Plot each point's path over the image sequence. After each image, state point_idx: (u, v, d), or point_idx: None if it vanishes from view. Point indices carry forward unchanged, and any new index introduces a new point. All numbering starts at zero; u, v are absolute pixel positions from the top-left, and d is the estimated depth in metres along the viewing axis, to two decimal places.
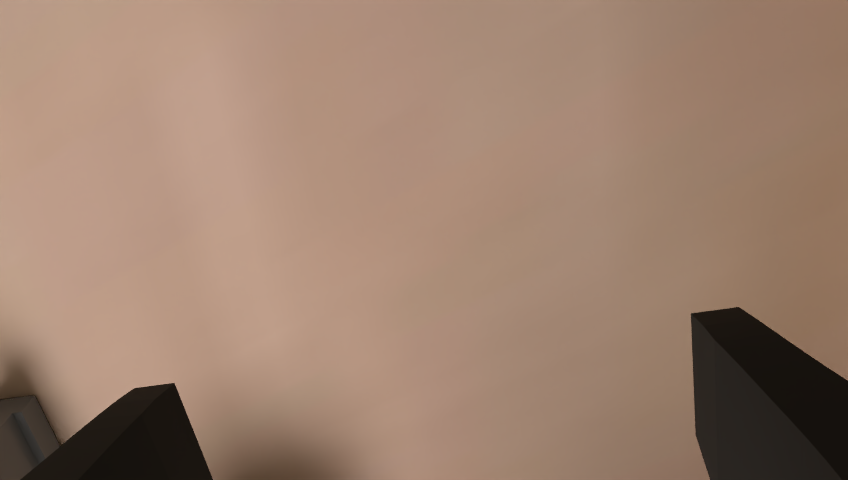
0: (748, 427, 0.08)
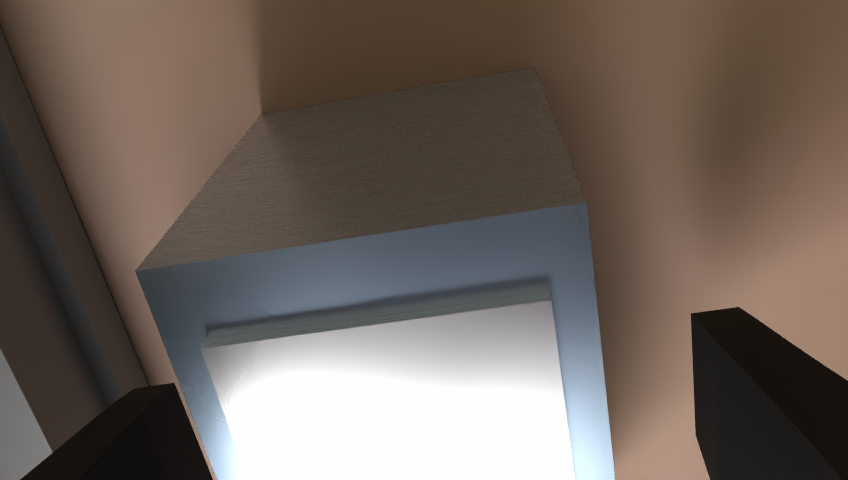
0: (748, 427, 0.08)
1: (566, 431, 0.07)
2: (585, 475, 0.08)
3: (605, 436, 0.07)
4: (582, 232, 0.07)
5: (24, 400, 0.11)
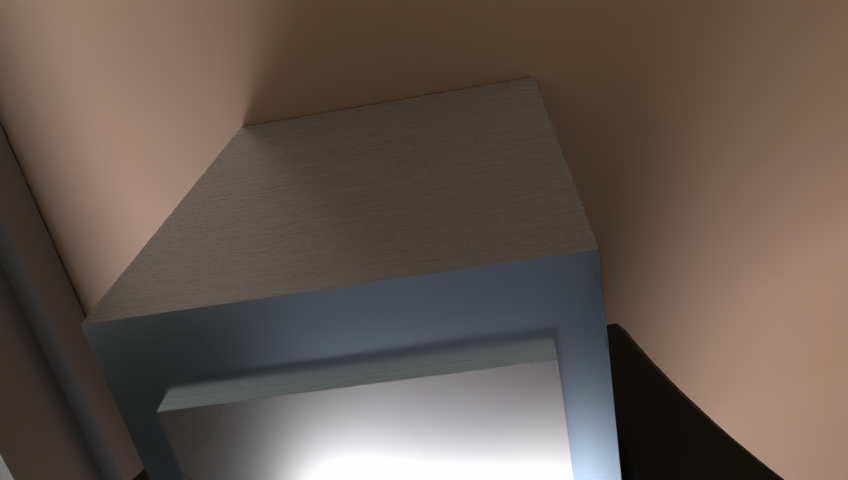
0: None
1: None
2: None
3: None
4: (594, 282, 0.06)
5: None
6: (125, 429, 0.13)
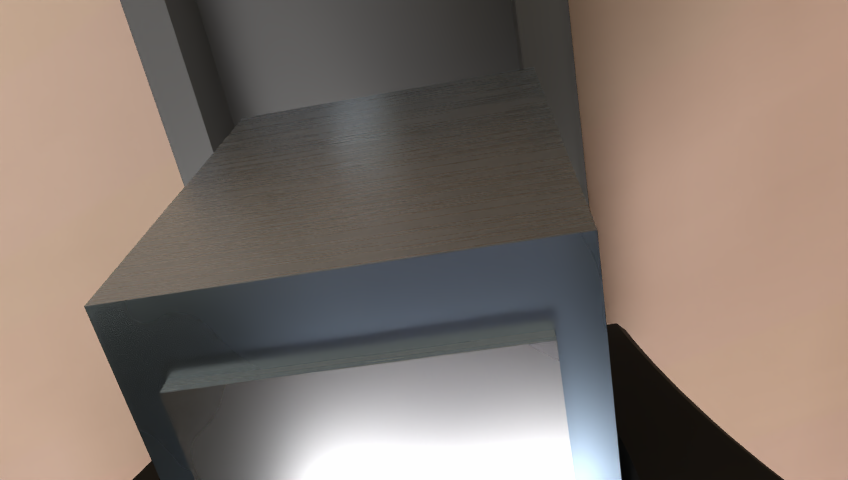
0: None
1: None
2: None
3: None
4: (592, 263, 0.06)
5: None
6: None
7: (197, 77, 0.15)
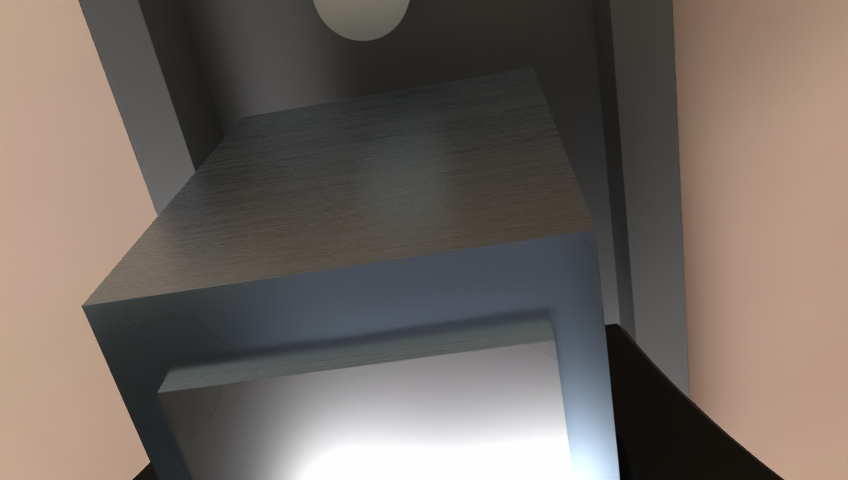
0: None
1: None
2: None
3: None
4: (590, 263, 0.06)
5: None
6: None
7: (199, 149, 0.12)
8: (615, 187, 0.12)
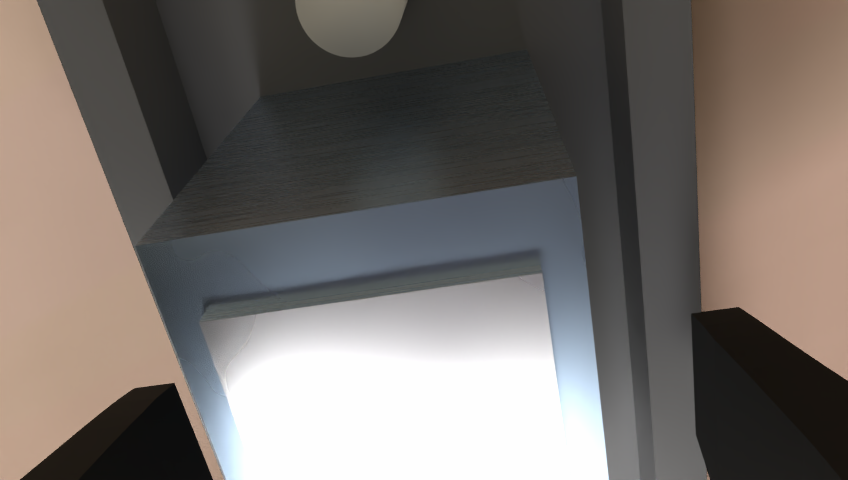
0: (747, 425, 0.08)
1: (558, 402, 0.07)
2: (575, 447, 0.08)
3: (596, 408, 0.08)
4: (572, 206, 0.07)
5: (702, 475, 0.12)
6: None
7: (177, 171, 0.11)
8: (626, 211, 0.11)
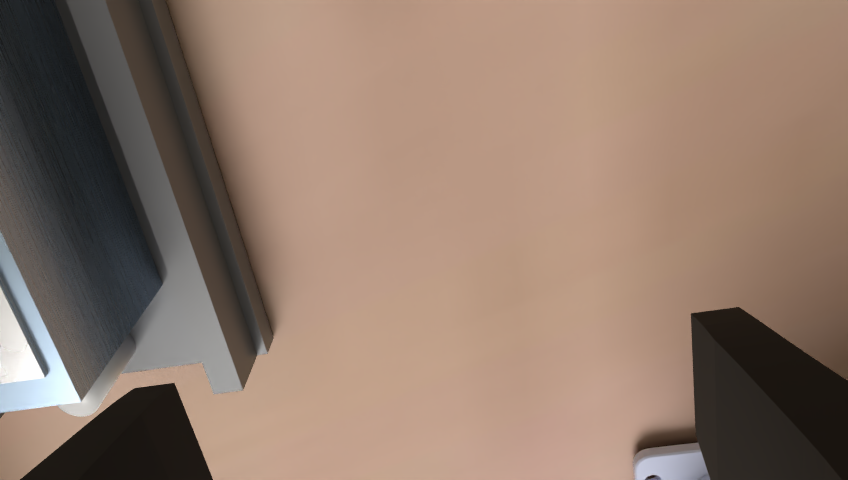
0: (748, 427, 0.08)
1: None
2: None
3: None
4: None
5: (197, 266, 0.18)
6: (253, 283, 0.21)
7: None
8: None
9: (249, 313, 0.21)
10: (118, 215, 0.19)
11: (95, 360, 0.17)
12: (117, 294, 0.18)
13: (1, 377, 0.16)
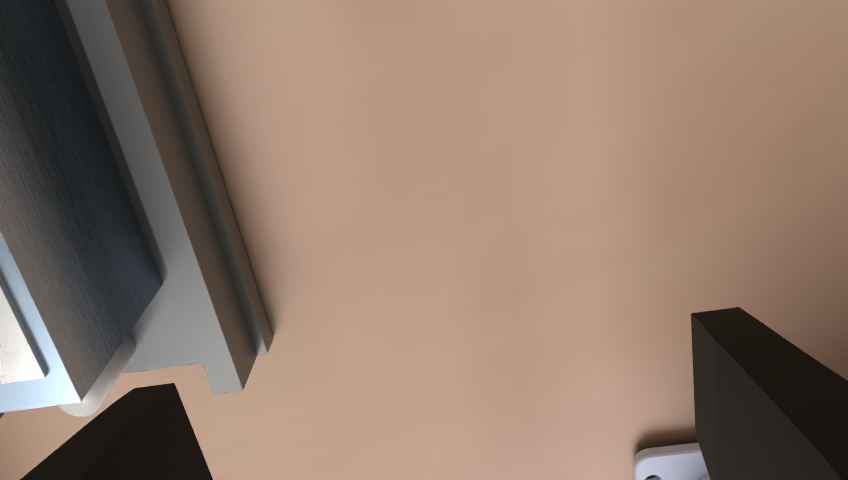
0: (748, 427, 0.08)
1: None
2: None
3: None
4: None
5: (197, 266, 0.18)
6: (253, 283, 0.21)
7: None
8: None
9: (249, 313, 0.21)
10: (118, 215, 0.19)
11: (95, 360, 0.17)
12: (117, 294, 0.18)
13: (1, 377, 0.16)
